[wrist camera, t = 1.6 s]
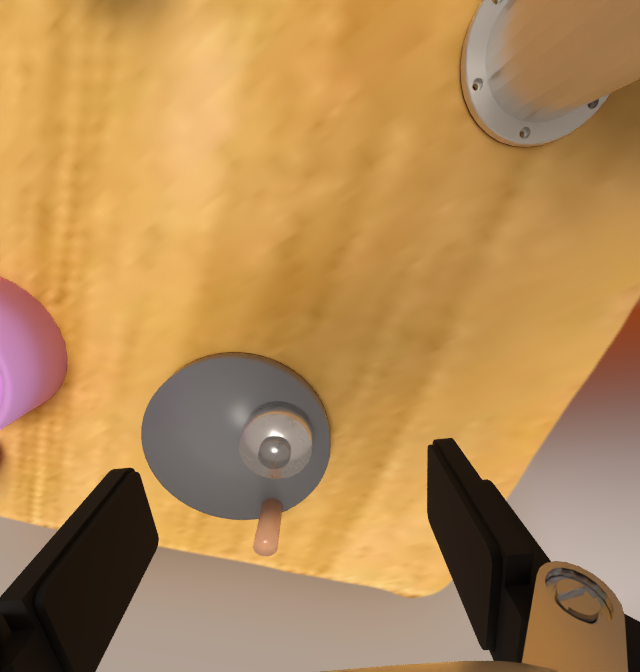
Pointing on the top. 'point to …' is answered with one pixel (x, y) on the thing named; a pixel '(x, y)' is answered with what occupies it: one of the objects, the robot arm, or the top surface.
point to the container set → (27, 353)
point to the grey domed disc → (229, 439)
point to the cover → (276, 440)
